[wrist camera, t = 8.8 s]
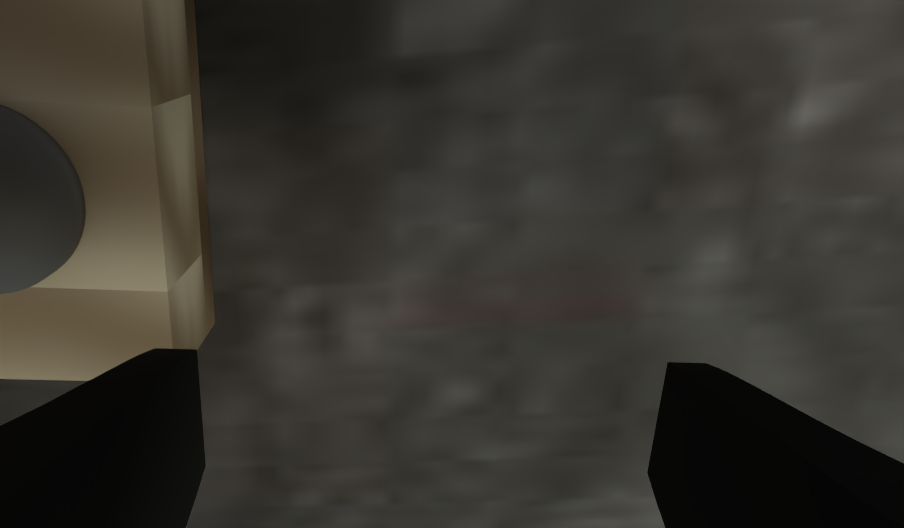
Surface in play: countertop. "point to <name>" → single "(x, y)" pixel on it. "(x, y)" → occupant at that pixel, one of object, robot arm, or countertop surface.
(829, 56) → the countertop surface
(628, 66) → the countertop surface
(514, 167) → the countertop surface
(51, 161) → the bore block
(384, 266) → the countertop surface
